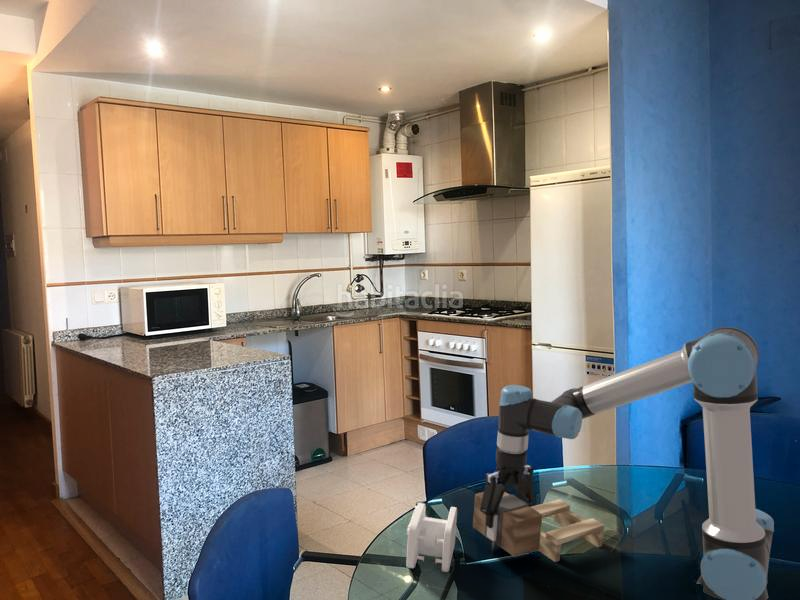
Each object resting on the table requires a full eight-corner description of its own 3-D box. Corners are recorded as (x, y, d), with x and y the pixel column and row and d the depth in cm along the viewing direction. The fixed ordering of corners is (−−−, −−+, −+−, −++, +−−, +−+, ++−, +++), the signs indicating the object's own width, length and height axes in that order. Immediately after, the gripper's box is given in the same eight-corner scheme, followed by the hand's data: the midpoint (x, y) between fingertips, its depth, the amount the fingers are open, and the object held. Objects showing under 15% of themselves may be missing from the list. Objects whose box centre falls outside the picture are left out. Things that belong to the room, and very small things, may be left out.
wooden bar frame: (601, 546, 169) (604, 524, 168) (555, 562, 160) (557, 539, 159) (557, 518, 182) (559, 499, 181) (512, 532, 173) (514, 511, 172)
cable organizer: (447, 580, 150) (451, 533, 148) (403, 572, 152) (406, 526, 150) (454, 547, 164) (458, 504, 162) (414, 540, 166) (417, 498, 164)
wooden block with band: (539, 548, 157) (542, 512, 156) (513, 557, 153) (516, 520, 151) (497, 520, 170) (499, 486, 169) (472, 527, 166) (474, 492, 165)
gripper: (533, 436, 167) (526, 518, 170) (468, 449, 156) (462, 537, 159) (554, 446, 161) (546, 531, 164) (488, 461, 149) (481, 551, 153)
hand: (505, 534), depth 161 cm, fingers closed on wooden block with band, 8 cm apart
